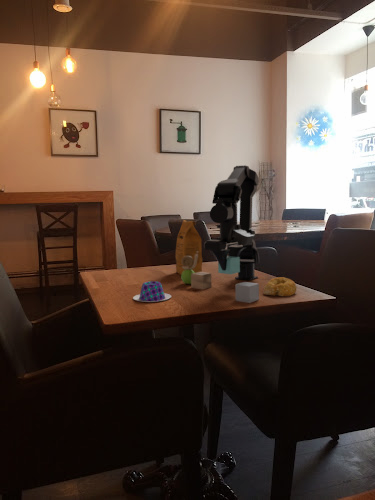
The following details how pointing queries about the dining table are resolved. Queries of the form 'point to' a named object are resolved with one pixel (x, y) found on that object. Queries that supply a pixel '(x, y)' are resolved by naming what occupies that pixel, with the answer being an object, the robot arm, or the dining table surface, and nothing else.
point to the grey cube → (247, 292)
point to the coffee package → (188, 246)
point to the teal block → (230, 265)
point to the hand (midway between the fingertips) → (229, 269)
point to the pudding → (152, 292)
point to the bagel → (280, 287)
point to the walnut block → (201, 280)
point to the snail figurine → (188, 268)
